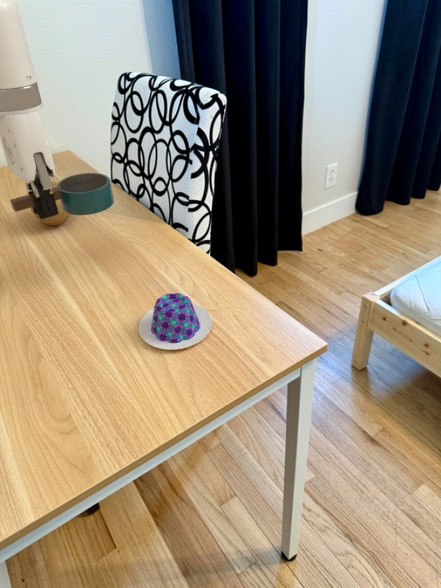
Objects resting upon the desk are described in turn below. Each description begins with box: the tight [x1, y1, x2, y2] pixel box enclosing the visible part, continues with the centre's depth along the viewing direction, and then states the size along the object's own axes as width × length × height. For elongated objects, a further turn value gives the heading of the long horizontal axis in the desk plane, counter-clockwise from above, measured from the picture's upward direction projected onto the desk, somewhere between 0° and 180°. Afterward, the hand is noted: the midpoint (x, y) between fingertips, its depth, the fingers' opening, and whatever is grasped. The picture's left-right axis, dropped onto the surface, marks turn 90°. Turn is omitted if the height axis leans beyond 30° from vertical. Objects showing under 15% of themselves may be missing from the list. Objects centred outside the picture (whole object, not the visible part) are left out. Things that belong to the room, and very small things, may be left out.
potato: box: [30, 181, 71, 226], centre depth 101 cm, size 10×14×8 cm
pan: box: [9, 172, 115, 216], centre depth 74 cm, size 17×9×4 cm, turn 128°
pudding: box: [138, 292, 213, 351], centre depth 69 cm, size 12×12×5 cm
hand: (46, 213), depth 73 cm, fingers closed on pan
